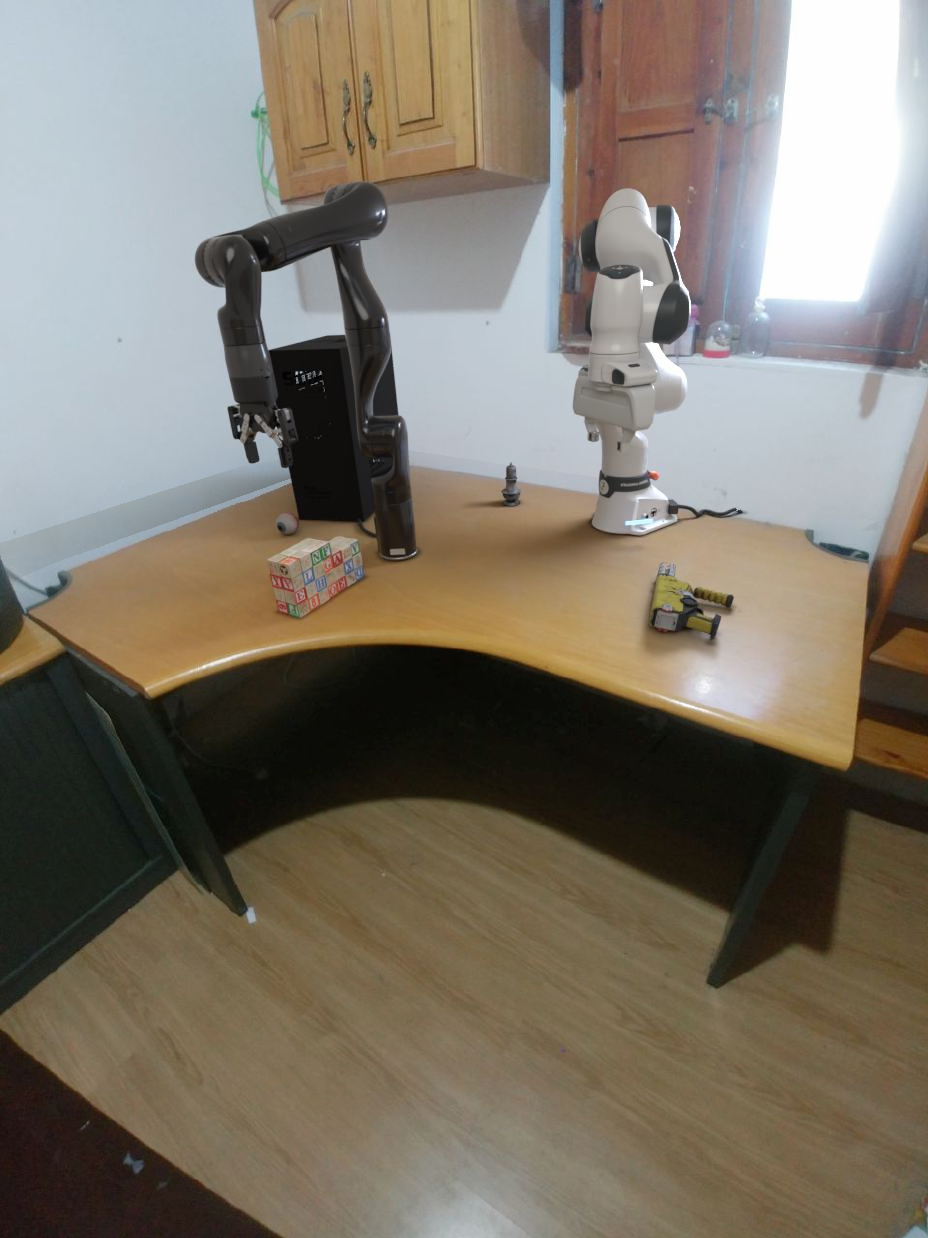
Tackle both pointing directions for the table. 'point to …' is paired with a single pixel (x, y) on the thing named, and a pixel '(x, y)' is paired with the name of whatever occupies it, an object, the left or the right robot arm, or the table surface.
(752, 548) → the table surface
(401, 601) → the table surface
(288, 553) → the stack of blocks
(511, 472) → the grey chess piece
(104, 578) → the table surface
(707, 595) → the toy gun
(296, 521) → the eyeball
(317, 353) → the black computer tower
